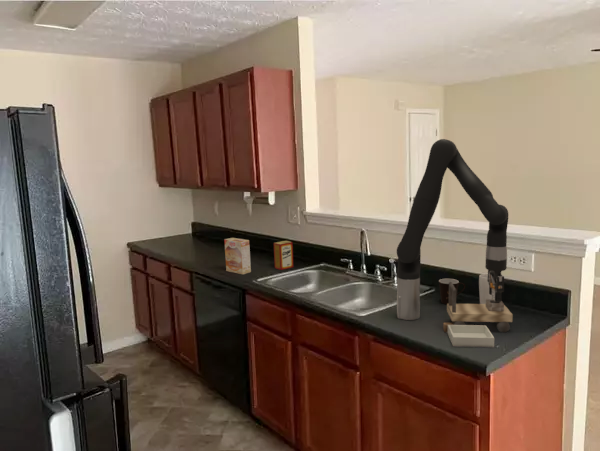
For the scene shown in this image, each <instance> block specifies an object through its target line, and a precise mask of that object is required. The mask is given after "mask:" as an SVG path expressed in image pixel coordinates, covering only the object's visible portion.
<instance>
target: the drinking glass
mask: <svg viewBox="0 0 600 451" xmlns="http://www.w3.org/2000/svg"><path fill="white" fill-rule="evenodd" d="M478 276H479V277H478V291H479V292H478V293H479V304H486V299H492V295H490V294H489V284H488V283H489V282H488V281H487V280H488V273H482V274H480V275H478Z"/></svg>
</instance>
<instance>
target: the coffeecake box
mask: <svg viewBox="0 0 600 451" xmlns="http://www.w3.org/2000/svg"><path fill="white" fill-rule="evenodd" d="M223 240H224V254H225V255H224V256H225V257H224V258H225V268H226V270H225V271H226V272H229V273H235V274H239V275H246V274H249V273H251V272H252V269H251V268H252V267H251V265H252V264H251V251H250V250H251V249H250V240H249V239H244V238H239V237H238V238H236V237H230V238H224V239H223Z"/></svg>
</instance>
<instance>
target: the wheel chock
mask: <svg viewBox="0 0 600 451" xmlns="http://www.w3.org/2000/svg"><path fill="white" fill-rule="evenodd" d="M448 325H454V322H443V325H442V326H443V329H442V330H443V332H444V333H448Z"/></svg>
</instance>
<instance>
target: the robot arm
mask: <svg viewBox="0 0 600 451" xmlns="http://www.w3.org/2000/svg"><path fill="white" fill-rule="evenodd" d="M425 167H426V168H425V172H424V174H423V176H422V178H421V181H420V182H419V185H418V188H417V191H416V193H415V195H414V199H413V202H412V206H411V208H410V212H409V216H408V220H407V226H406V229H405V230H404V234H403V236H402V238H401V240H400V242H399V243H398V245H397V248H396V256H397V269H396V271H397V272H396V274H397V275H396V276H397V278H396V279H397V282H396V285H397V286H396V287H397V288H396V289H397V290H396V291H397V292H396V316H397V319H399V320H405V321H415V320H418V319H420V316H421V314H420V313H421V311H420V310H421V257H422V256H421V251H422V250H421V248H422V244H423V243H422V242H423V239H424V237H425V236H424V235H425V233H426V231H427V229H428V227H429V225H430V223H431V222H432V219H433V217H434V215H435V212H436V209H437V207H438V204H439V201H440V198H441V192H442V187H443V186H442V185H443V181H444V176H445V174H446V171H447V169H449V171H450V172H451V173H452V174H453V175H454V177H455V178H456V180H457V181H458V183H459V184H460V186H461V187H462V189H464V191H465V192H466V194H467V196H468V197H469V199H471V200H472V201H473V202H474V203H475V205H476V206H477V207H478V209H479V211H480V212H481V214H482V215H483V217H484V218H485V219H486V220H487V222H488V231H487V234H486V248H485V266H484V267H485V269H486V270H487V274H488V280H487V281H488V282H489V283H488V284H489V294H490V295H492V288H491V287H490V283H491V282H492V283H493V286H494V287H495V301H496V302H501V301H502V293H504V292H505V276H504V275H503V274H502V272H504V271H506V270H507V269H508V268H507V266H508V265H507V264H508V262H507V261H508V249H507V247H508V246H507V239H508V238H507V236H508V234H507V232H508V231H507V230H508V225H509V210H508V208H507V207H506V206H505V205H503V204H500V203H498V202H497V200H496V199H495V198H494V196H493V193H492V192H491V190H490V189H489V188H488V186H487V185H486V184H485V183H484V182H483V180H481V179H480V178H479V177H478V175H477V174H476V173H475V172H474V171H473V170H472V169H471V168H470V167H469V164H467V162H466V161H465V160H464V158H463V156H462V155H461V153H460V152H459V149H458V148H457V145H456V143H455V142H453V141H451V140H449V139H445V138H441V139H439V140H436V141H435V142H433V144H432V146H431V147H430V151H429V155H428V160H427V164H426V166H425ZM498 287H500V288H499V289H498Z"/></svg>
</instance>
